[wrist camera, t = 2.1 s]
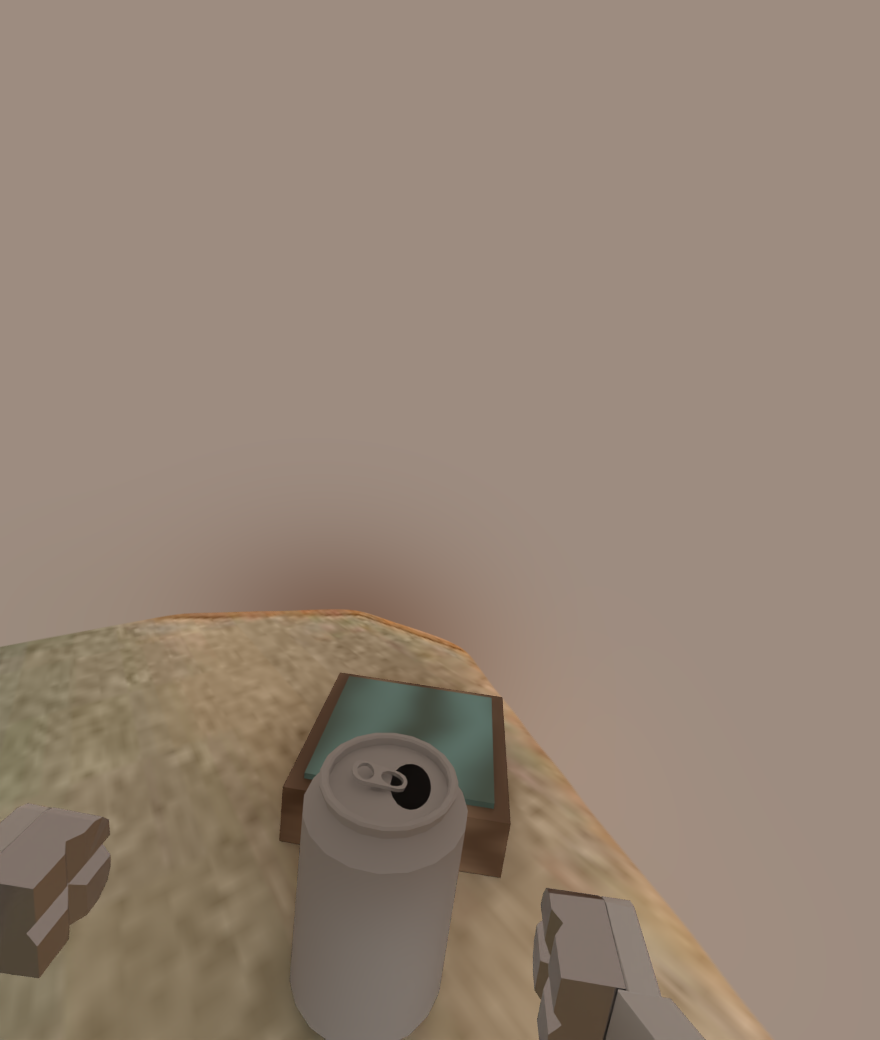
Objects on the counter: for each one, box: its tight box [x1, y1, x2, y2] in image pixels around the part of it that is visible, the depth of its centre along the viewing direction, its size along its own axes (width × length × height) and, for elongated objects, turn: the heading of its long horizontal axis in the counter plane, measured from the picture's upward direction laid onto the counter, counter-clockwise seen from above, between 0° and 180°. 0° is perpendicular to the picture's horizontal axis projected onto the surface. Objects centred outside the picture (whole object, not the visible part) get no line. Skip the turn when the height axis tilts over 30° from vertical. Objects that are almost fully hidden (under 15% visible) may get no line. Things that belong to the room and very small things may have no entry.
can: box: [290, 733, 468, 1040], centre depth 26 cm, size 8×8×12 cm
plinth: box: [279, 673, 510, 878], centre depth 41 cm, size 14×14×4 cm
